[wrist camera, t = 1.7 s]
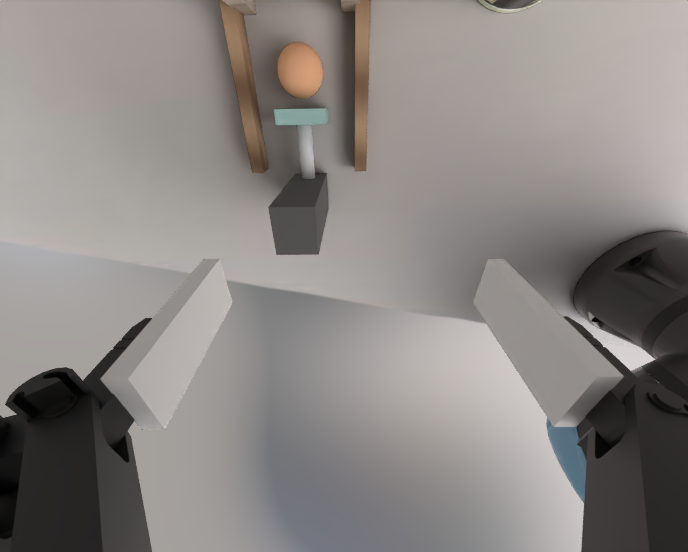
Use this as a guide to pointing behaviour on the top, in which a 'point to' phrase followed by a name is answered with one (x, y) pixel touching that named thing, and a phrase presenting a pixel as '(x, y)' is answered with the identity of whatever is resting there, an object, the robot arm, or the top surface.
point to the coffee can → (508, 5)
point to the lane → (233, 7)
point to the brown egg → (300, 70)
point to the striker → (301, 191)
